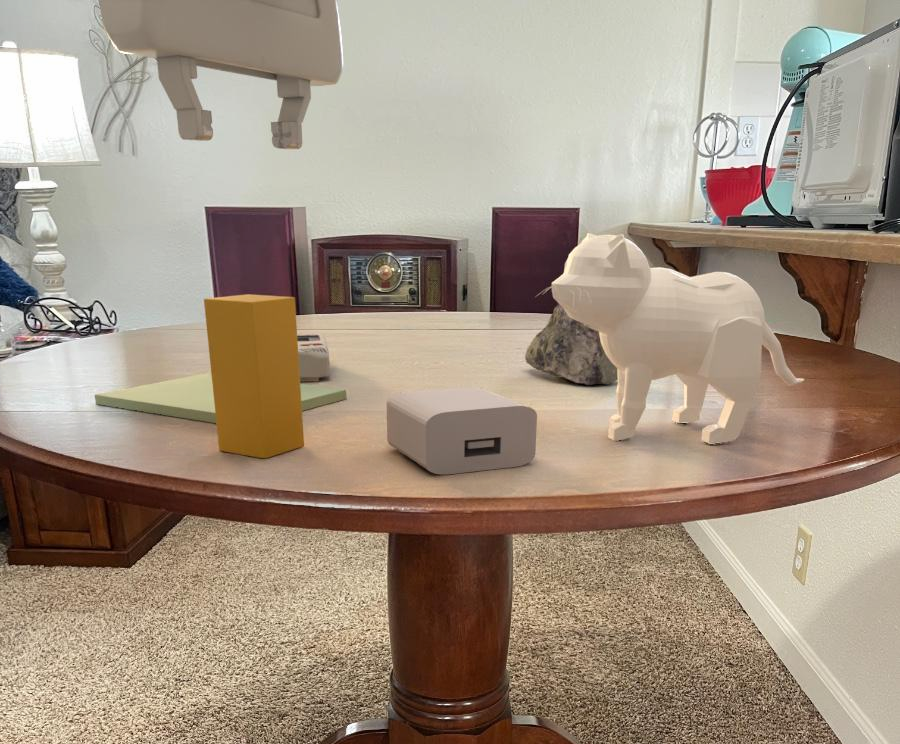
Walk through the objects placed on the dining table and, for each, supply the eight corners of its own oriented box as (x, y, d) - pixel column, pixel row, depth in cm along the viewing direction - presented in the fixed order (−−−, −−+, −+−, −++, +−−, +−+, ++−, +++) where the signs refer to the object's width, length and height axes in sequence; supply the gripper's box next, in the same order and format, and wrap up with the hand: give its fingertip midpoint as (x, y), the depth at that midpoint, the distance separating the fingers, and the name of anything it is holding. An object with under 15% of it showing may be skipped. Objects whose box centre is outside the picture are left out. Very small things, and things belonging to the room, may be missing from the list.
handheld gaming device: (253, 383, 102) (251, 349, 101) (256, 363, 115) (254, 333, 114) (331, 383, 104) (330, 349, 102) (325, 363, 117) (324, 333, 115)
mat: (95, 404, 91) (94, 394, 91) (209, 381, 104) (208, 372, 103) (241, 427, 82) (240, 416, 81) (346, 398, 94) (346, 389, 94)
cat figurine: (765, 415, 87) (792, 231, 80) (827, 440, 78) (863, 234, 71) (520, 426, 83) (526, 231, 76) (554, 453, 73) (565, 234, 66)
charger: (459, 425, 82) (535, 464, 70) (364, 434, 79) (426, 477, 67) (459, 374, 81) (537, 404, 68) (362, 380, 77) (425, 413, 65)
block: (218, 450, 74) (203, 298, 69) (260, 438, 77) (247, 294, 73) (264, 459, 71) (251, 302, 66) (304, 446, 75) (295, 297, 70)
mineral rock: (521, 369, 112) (524, 285, 108) (606, 368, 113) (612, 285, 109) (535, 387, 101) (538, 294, 97) (628, 387, 101) (636, 294, 97)
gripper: (292, -48, 68) (302, 153, 73) (65, -131, 52) (100, 135, 57) (359, -59, 65) (365, 152, 71) (140, -151, 49) (170, 132, 54)
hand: (244, 144), depth 64 cm, fingers open, 8 cm apart
